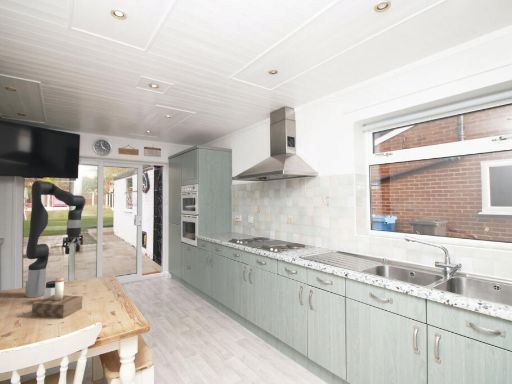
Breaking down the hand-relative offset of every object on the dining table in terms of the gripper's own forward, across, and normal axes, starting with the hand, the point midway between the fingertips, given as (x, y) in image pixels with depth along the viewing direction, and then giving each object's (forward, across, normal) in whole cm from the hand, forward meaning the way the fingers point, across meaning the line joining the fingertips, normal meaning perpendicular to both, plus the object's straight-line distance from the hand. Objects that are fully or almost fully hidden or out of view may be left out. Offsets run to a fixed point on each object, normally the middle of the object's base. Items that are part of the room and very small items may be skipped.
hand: (72, 252), depth 171 cm
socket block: (+30, +16, +6) cm, 35 cm away
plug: (+25, +16, +6) cm, 30 cm away
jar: (+30, +1, -10) cm, 32 cm away
